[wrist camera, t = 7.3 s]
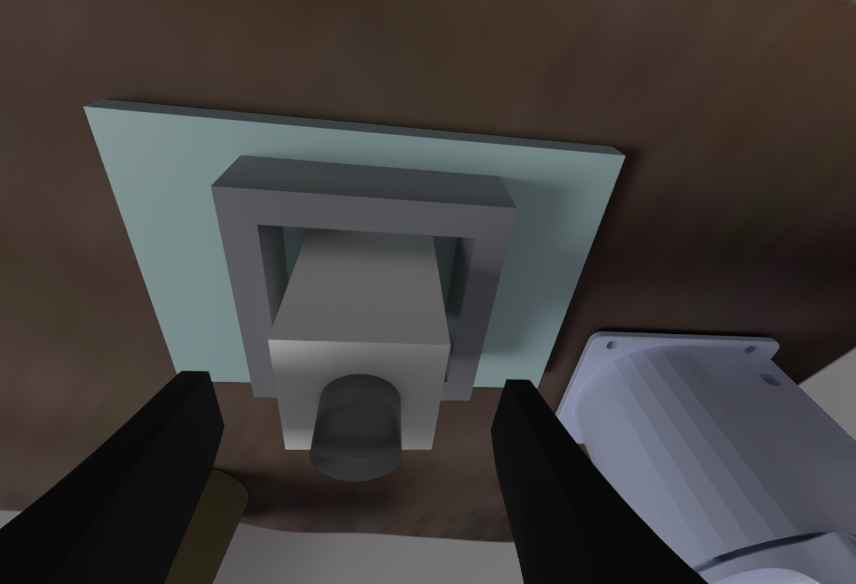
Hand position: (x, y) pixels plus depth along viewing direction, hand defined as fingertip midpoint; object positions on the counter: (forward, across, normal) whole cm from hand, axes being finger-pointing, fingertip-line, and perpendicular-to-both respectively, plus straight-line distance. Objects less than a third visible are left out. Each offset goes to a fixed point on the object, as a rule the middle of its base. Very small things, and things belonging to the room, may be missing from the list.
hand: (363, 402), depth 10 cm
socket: (+7, 0, 0) cm, 7 cm away
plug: (+6, 0, 0) cm, 6 cm away
